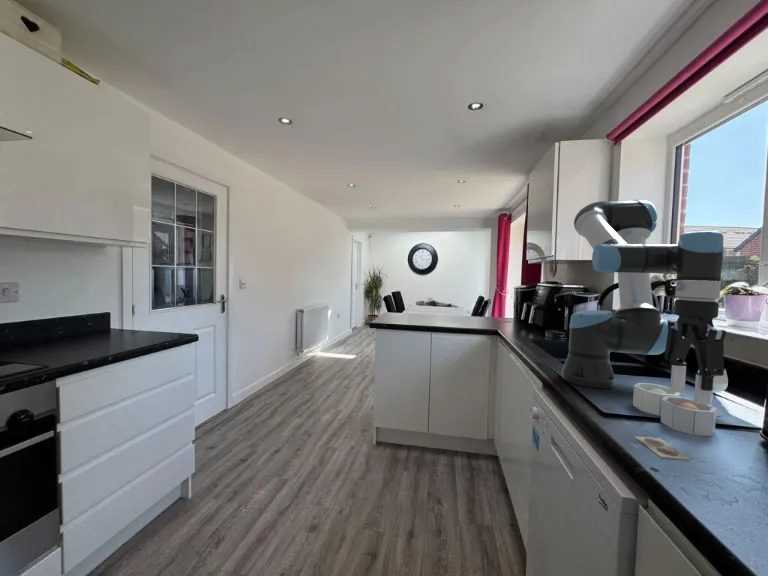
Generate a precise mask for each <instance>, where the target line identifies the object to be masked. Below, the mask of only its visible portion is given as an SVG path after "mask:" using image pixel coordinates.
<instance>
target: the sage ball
mask: <svg viewBox="0 0 768 576" xmlns="http://www.w3.org/2000/svg"><path fill="white" fill-rule="evenodd" d="M650 391H652V392H656V393H660V394H667V393H666V392H664V391H662V390H660V389H652V390H650Z"/></svg>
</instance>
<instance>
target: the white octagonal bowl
mask: <svg viewBox="0 0 768 576" xmlns="http://www.w3.org/2000/svg"><path fill="white" fill-rule="evenodd" d="M652 389H660V390H662V391H664V392H666V393H667V394H660V393H656V392H652V391H650V390H652ZM681 394H682V393H677V392H671V391H670V387H669V386H665V385H661V384H656V383H649V382H648V383H647V382H637V383H636V384H634V385H633V398H632V406H634V408H636V409H638V410H639V411H641V412H644V413H647V414H650V415H655V416H659V417H661V409H662V399H663V398H664V397H666V396H672V397H681Z"/></svg>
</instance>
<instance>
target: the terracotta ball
mask: <svg viewBox="0 0 768 576" xmlns="http://www.w3.org/2000/svg"><path fill="white" fill-rule="evenodd" d="M677 406H681V407H685V408H689V409H693V410H699V409H698V408H697V407H696V406H694V405H692V404H690V403H680V404H678V405H677Z"/></svg>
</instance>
